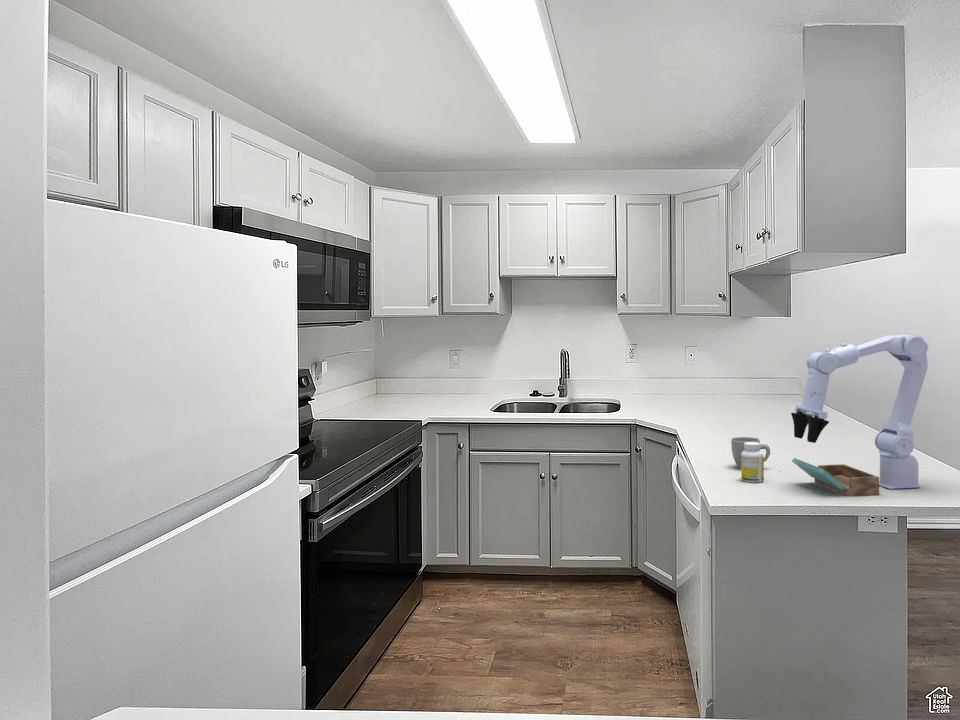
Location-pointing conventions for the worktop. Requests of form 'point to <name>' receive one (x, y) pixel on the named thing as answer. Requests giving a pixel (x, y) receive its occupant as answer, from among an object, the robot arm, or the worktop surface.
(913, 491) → the worktop surface
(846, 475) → the wooden box
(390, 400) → the worktop surface
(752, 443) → the pill bottle
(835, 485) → the teal box lid
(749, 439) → the mug
